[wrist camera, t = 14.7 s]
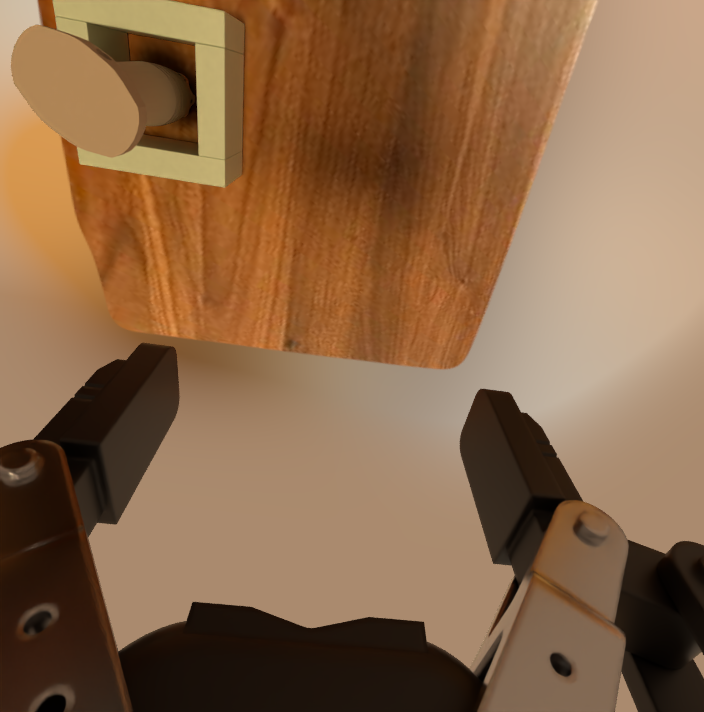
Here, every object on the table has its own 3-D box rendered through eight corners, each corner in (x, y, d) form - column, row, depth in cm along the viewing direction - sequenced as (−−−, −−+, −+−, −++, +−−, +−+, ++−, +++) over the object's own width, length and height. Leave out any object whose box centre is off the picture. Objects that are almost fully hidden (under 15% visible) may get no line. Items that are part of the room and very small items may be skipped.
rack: (96, -6, 32) (47, -24, 27) (244, 23, 33) (224, 10, 28) (116, 154, 38) (79, 164, 32) (242, 175, 38) (225, 187, 33)
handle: (196, 146, 37) (114, 175, 24) (127, 89, 35) (-2, 89, 22) (225, 98, 35) (153, 102, 23) (155, 34, 33) (31, -1, 20)
